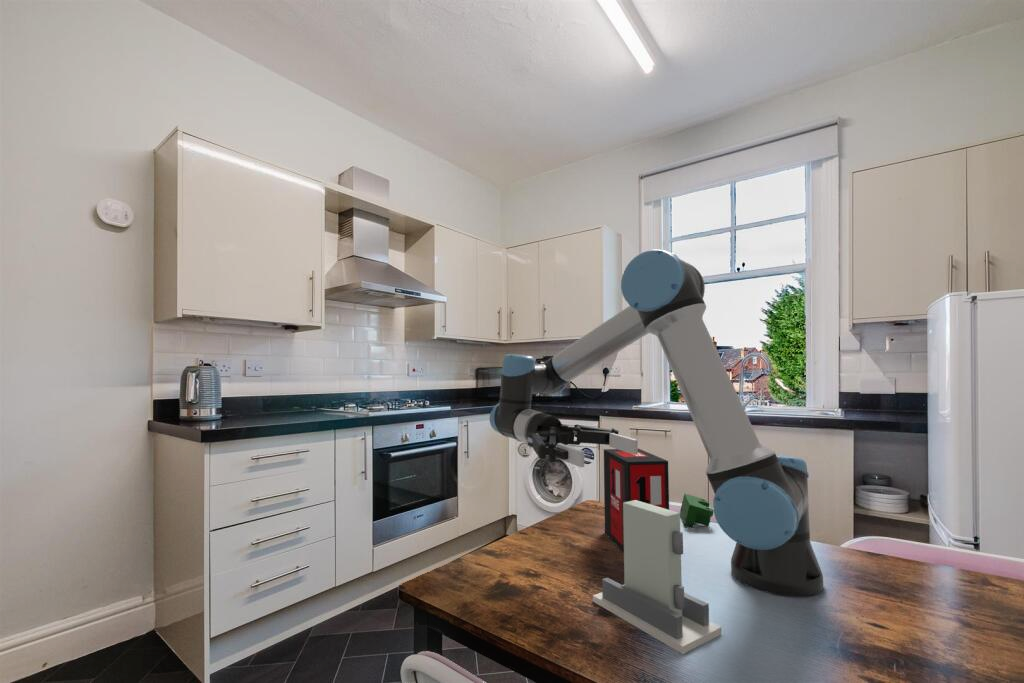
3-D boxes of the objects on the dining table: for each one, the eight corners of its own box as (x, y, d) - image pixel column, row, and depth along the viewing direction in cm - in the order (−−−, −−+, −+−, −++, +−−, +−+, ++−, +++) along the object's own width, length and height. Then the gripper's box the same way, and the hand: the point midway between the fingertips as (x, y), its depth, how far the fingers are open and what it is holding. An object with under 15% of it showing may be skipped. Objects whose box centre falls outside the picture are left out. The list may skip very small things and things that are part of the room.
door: (624, 601, 78) (623, 502, 79) (637, 596, 80) (635, 500, 81) (677, 629, 70) (674, 518, 71) (690, 623, 71) (687, 515, 72)
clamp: (704, 544, 119) (715, 516, 115) (680, 537, 120) (689, 509, 117) (702, 513, 129) (711, 487, 126) (680, 506, 131) (688, 480, 127)
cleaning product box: (670, 557, 99) (668, 461, 101) (629, 559, 98) (627, 462, 100) (640, 531, 116) (638, 448, 117) (604, 532, 115) (603, 449, 116)
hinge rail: (592, 601, 80) (592, 577, 81) (630, 588, 85) (629, 565, 86) (682, 654, 65) (682, 624, 66) (721, 634, 70) (720, 606, 71)
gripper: (581, 438, 110) (655, 461, 93) (490, 456, 96) (557, 487, 79) (581, 406, 110) (656, 423, 92) (490, 419, 96) (557, 442, 78)
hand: (610, 453), depth 86 cm, fingers open, 13 cm apart
